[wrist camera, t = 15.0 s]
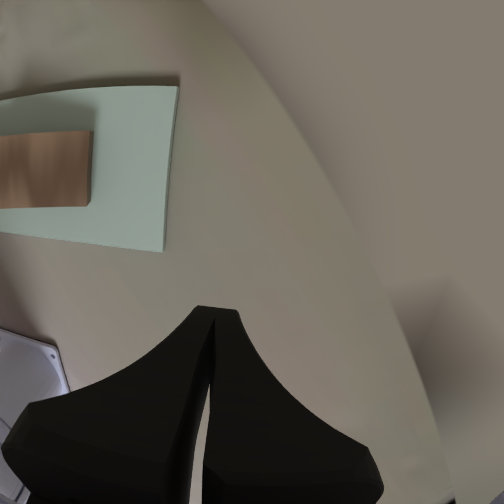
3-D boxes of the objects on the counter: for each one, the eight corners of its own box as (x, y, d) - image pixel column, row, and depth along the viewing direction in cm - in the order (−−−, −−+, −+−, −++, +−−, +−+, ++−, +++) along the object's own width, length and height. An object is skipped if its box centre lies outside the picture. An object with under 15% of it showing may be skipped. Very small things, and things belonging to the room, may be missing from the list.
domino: (86, 206, 16) (-19, 209, 13) (90, 201, 18) (-9, 204, 15) (89, 130, 15) (-20, 139, 12) (94, 130, 16) (-9, 138, 13)
